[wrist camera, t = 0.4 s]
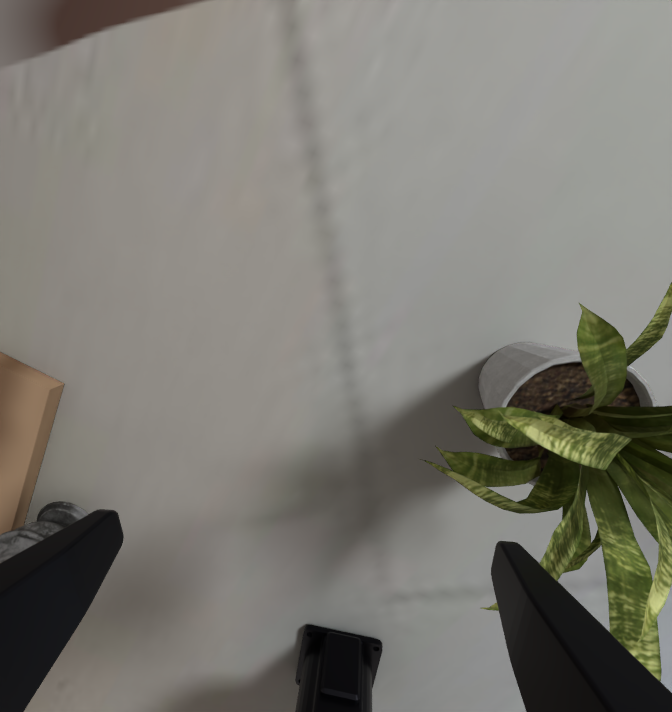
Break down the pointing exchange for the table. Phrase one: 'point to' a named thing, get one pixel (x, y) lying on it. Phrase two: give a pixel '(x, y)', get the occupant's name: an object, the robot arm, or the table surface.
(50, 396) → the shelf board
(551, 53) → the table surface
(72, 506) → the grey chess piece
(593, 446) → the house plant
